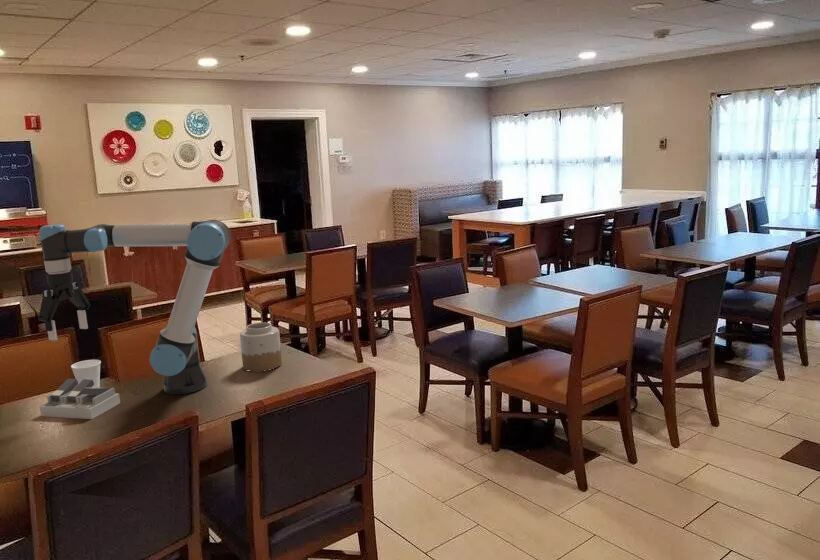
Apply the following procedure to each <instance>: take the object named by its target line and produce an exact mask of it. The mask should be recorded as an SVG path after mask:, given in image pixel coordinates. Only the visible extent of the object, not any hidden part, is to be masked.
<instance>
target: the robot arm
mask: <svg viewBox="0 0 820 560" xmlns="http://www.w3.org/2000/svg"><path fill="white" fill-rule="evenodd" d="M231 241H232V233H231V230H230V228H229V227H228V225H227V224H226V223H225V222H222V221H221V220H218V219H210V220H209V219H208V220H202V221H200V220H199V221H191V222H190V223H189V224H115V225H114V224H112V225H111V224H110V225H109V224H105V223H104V224H103V223H100V224H97V225H94V226H90V227H87V228H82V229H73V230H72V229H71V230H70V229H66V227H65V225H64V224H48V225H43V226H41V227H39V242H40V245H41V251H42V255H43V264H44V269H45V272H46V273H47V274H46V276H45V277H46V280H47V281H46V282H47V285H49V287H50V289H47V290H45V289H44V290H42V291H41V293H42V299H41V303H40V307H39V308H40V309H39V312H38V313H39V314H38V319H37V320H38V321H39V322H44V326H45V330H46V332H47V335H48V341H58V334H57V328H56V321H55V319H53V318H54V316H55V314H56V311H57V309H58V307H59V304H60V303H61V302H62V301H65V300H69V301H70V302H71V303H72V304H73V305H74V306H75V307H76V308H77V309H78V310H77V311H76V313H77V319H78V325H79V329H80V330H81V329H82V330H87V329H89V325H88V319H87V318H88V313H87V310H89V309H90V307H91V303H90V301H89V299H88V297H87V296H86V294H85V292H84V291H83V290H82V288H81V284H80V282H74V277H73V276H74V275H73V272H72V269H73V268H72V263H71V258H70V254H73V253H74V254H75V253H77V254H78V253H90V252H92V253H96V252H102V251H105V250H106V249H107V248H113V247H114V248H116V247H119V248H120V247H186V250H185V254H184V258H185V260H186V266H185V269H184V272H183V274H182V275H183V276H182V278H181V281H180V285H179V288H178V291H177V293H176V297H175V299H174V304H173V306H172V310H171V311H170V312H171V313H170V315H169V319H168V322H167V325H166V327H165V328H163V329H160V331H159V335H158V337H157V340H156V343H155V345H154V348H153V349H152V350H151V352H150V354H149V364H150V366H151V367H152V369H153V370H154V371H155V372H156V373H158V374H159V375H162V376H165V377H164V381H163V391H164V392H165V393H166V394H168V395H169V394H170V395H185V394H190V393H194V392H198V391H201V390H203V389H204V388H206V387H207V385H208V379H207V376H206V374H205V372H204V370H203V368H202V366H201V362H200V353H199V350H200V349H199V342H198V332H197V329H196V327H195V325H196V324H197V320H198V317H199V314H200V311H201V307H202V304H203V302H204V299H205V296H206V293H207V289H208V286H209V283H210V281H211V278H212V275H213V271H214V270H215V269H217V268H219V267H220V265H221V262H222V259H223V256H224V253H225V250H226V249H228V247H229V245H230V243H231Z"/></svg>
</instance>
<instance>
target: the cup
mask: <svg viewBox="0 0 820 560" xmlns="http://www.w3.org/2000/svg"><path fill="white" fill-rule="evenodd" d="M101 364H102V361H101V360H100V359H86V360H81V361H78V362H75V363H73V364H71V365H70V368H71V370H72V373H73V375H74V377H75V378H74V379H77V381H78V383H79V384H80V383H81V381H82V380H83V379H87V380H93V382H94V385H93V386H92V387H91V388H96V387H99V388H100V383H101V382H100V378H101ZM79 384H78V385H79ZM78 385H77V386H78Z"/></svg>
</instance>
